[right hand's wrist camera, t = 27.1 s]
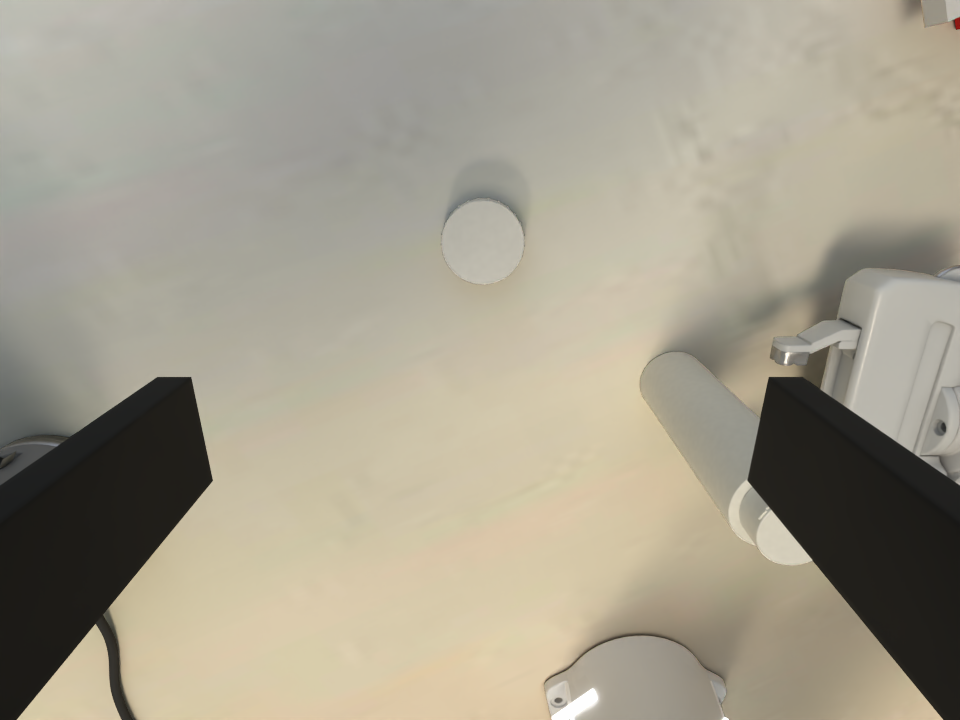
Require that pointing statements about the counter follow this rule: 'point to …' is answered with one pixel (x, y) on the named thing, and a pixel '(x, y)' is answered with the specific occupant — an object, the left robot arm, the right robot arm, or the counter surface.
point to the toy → (940, 12)
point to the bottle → (717, 448)
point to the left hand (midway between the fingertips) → (763, 413)
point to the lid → (482, 241)
